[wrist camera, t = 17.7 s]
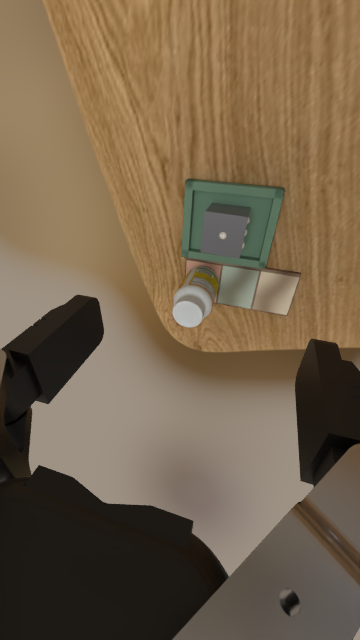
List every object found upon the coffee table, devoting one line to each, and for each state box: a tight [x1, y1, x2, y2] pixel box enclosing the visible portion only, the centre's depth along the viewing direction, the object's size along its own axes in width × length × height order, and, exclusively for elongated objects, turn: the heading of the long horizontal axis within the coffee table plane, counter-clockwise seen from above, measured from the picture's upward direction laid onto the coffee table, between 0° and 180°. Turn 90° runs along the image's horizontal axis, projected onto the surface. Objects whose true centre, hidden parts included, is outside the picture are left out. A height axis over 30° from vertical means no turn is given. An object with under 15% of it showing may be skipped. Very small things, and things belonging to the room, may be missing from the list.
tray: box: [181, 179, 285, 269], centre depth 36 cm, size 12×10×2 cm
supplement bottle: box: [173, 267, 219, 327], centre depth 38 cm, size 5×5×10 cm
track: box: [185, 257, 301, 316], centre depth 41 cm, size 16×7×1 cm, turn 87°
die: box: [200, 203, 250, 259], centre depth 35 cm, size 5×5×5 cm
